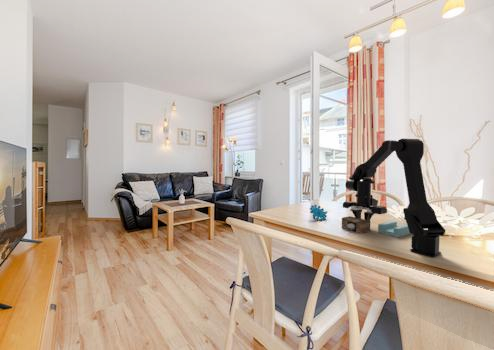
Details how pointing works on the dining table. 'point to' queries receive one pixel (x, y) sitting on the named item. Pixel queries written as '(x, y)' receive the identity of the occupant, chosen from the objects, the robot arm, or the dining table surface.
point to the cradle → (393, 229)
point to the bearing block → (357, 223)
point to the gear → (318, 212)
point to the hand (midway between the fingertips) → (362, 225)
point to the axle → (351, 226)
